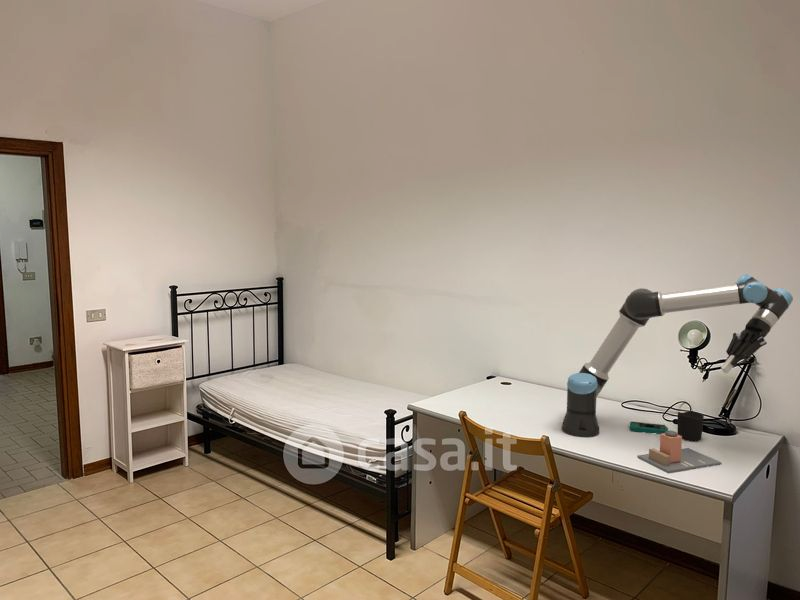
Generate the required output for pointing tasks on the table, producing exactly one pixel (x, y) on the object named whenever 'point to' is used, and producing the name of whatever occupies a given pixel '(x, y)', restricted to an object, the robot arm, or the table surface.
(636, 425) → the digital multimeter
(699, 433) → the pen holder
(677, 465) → the plate
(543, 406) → the table surface
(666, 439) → the pink capped canister
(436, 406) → the table surface
